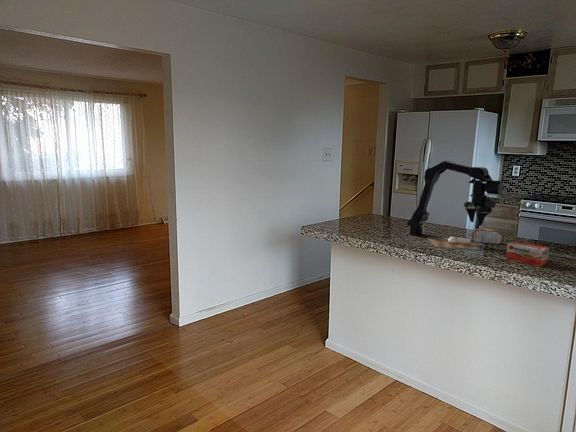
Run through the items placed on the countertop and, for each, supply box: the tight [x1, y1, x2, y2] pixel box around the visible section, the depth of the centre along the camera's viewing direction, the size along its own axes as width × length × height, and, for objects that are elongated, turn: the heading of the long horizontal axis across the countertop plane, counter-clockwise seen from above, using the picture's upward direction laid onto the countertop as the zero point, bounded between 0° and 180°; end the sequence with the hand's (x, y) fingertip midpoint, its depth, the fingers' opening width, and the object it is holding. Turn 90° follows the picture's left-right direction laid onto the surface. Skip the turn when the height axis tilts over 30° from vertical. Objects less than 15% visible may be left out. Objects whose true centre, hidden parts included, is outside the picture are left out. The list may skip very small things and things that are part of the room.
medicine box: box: [505, 240, 550, 268], centre depth 188 cm, size 15×8×8 cm, turn 39°
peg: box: [447, 236, 475, 244], centre depth 214 cm, size 12×4×3 cm, turn 64°
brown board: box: [426, 237, 481, 250], centre depth 216 cm, size 22×20×1 cm
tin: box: [471, 227, 504, 245], centre depth 218 cm, size 15×3×8 cm, turn 71°
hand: (475, 223), depth 208 cm, fingers open, 9 cm apart
